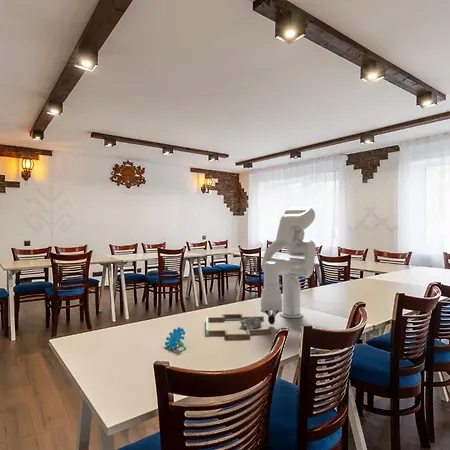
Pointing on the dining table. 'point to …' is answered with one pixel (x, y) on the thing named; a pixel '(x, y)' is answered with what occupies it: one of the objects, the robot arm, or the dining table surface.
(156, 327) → the dining table surface
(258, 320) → the grey rock
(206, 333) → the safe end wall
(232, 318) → the trap pits
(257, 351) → the dining table surface
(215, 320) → the trap box
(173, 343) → the blue flower
